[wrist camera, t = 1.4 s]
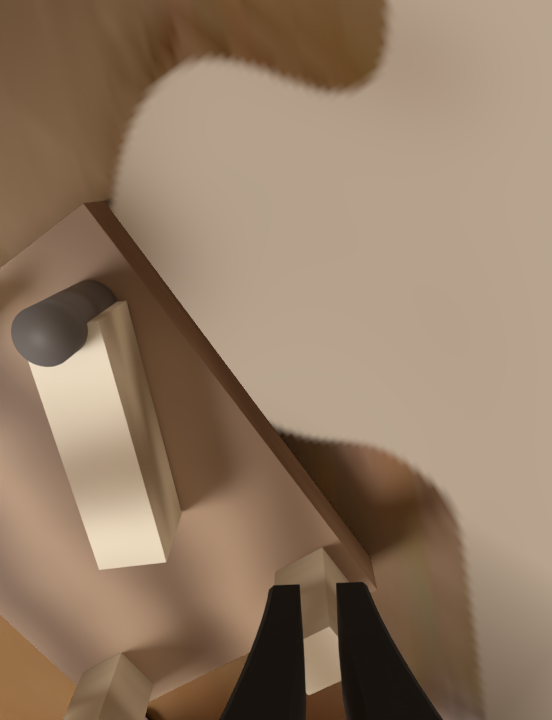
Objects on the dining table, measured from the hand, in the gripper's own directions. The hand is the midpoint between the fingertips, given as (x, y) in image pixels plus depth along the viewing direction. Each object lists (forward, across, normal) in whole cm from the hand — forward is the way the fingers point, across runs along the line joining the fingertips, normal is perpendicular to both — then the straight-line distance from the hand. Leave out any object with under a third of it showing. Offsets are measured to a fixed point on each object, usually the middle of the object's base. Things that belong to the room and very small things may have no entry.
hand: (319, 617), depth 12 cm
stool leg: (+8, +7, -2) cm, 11 cm away
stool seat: (+10, +9, +3) cm, 14 cm away
